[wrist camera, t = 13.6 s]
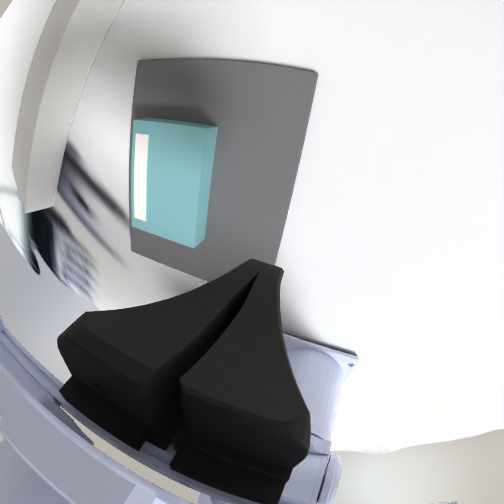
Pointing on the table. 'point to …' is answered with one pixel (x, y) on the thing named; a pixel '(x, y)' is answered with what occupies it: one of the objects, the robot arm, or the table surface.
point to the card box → (172, 178)
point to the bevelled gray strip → (56, 94)
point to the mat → (230, 153)
